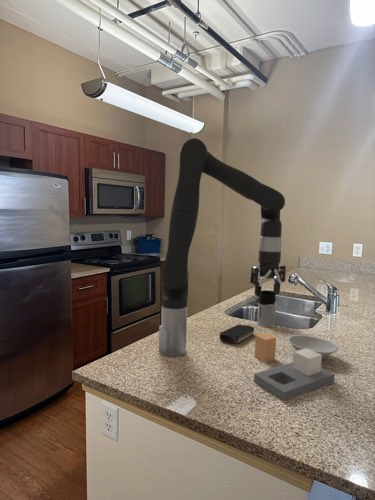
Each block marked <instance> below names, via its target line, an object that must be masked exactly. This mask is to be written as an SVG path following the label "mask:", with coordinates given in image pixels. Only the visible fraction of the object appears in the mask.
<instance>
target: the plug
mask: <svg viewBox="0 0 375 500" xmlns="http://www.w3.org/2000/svg"><path fill="white" fill-rule="evenodd" d="M254 341H255V343H254V358H256V359H258V360H260V361H261V362H263V363H266V362H270V361H274V360H276V347H277V337H276V336H274V335H272V334H270V333H268V332H264V333H260V334H256V335H255V340H254Z"/></svg>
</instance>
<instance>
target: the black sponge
mask: <svg viewBox="0 0 375 500" xmlns="http://www.w3.org/2000/svg"><path fill="white" fill-rule="evenodd" d="M254 332H255V326H251V325H245V324H236V325H234V326H232V327H230V328H228V329H226V330H223V331H221V332H219V339H220V341H223V342H224V341H225V342H229V343H234V344H238V343H239V342H242V341H243V340H245V339H247V338H248V337H251V336H252V335H253V334H254Z"/></svg>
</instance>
